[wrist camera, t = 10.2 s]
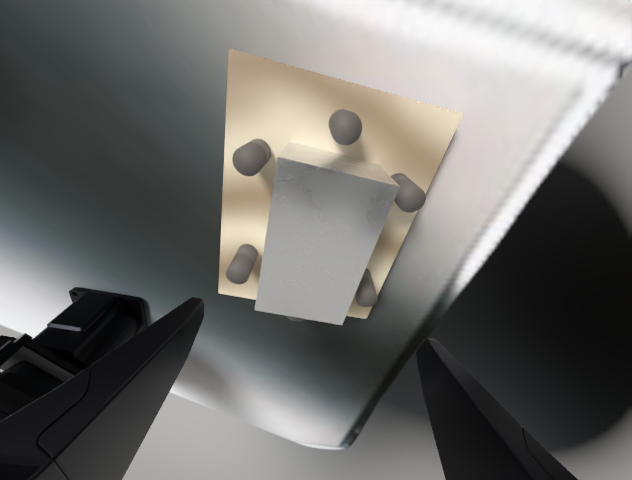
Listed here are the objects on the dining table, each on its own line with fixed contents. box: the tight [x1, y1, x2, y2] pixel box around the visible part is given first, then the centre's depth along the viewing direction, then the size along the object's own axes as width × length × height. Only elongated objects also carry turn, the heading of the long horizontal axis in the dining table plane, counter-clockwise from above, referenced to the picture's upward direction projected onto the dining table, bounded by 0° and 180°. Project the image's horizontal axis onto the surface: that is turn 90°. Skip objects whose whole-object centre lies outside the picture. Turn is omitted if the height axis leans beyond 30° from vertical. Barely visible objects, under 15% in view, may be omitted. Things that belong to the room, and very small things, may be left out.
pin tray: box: [218, 49, 463, 322], centre depth 18 cm, size 18×14×4 cm
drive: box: [255, 141, 400, 325], centre depth 16 cm, size 10×6×5 cm, turn 167°
